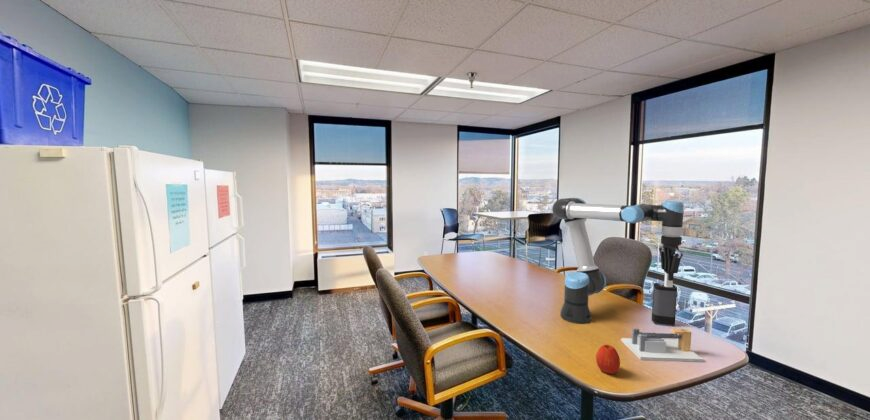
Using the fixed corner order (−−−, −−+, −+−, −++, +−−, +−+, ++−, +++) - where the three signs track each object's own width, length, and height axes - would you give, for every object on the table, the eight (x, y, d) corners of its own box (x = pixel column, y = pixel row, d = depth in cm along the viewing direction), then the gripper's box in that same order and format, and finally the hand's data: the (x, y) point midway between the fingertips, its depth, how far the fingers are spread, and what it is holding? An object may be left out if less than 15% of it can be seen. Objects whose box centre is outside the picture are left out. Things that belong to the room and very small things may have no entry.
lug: (673, 350, 137) (675, 331, 136) (669, 347, 140) (670, 328, 139) (690, 351, 136) (691, 332, 135) (685, 347, 139) (686, 328, 138)
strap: (640, 339, 137) (641, 336, 137) (635, 334, 141) (635, 331, 141) (682, 340, 136) (682, 337, 136) (675, 335, 140) (675, 332, 140)
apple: (596, 375, 122) (597, 347, 121) (594, 363, 130) (595, 337, 129) (621, 379, 119) (622, 351, 118) (617, 367, 127) (618, 341, 126)
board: (640, 359, 132) (641, 341, 131) (621, 340, 148) (621, 323, 147) (702, 362, 130) (704, 343, 130) (676, 342, 146) (677, 325, 145)
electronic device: (671, 322, 167) (674, 284, 165) (675, 327, 161) (678, 287, 159) (650, 319, 170) (652, 282, 168) (654, 324, 164) (656, 286, 162)
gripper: (690, 238, 139) (686, 291, 141) (670, 233, 152) (667, 282, 154) (672, 238, 140) (668, 291, 142) (654, 233, 153) (651, 282, 155)
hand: (668, 286), depth 148 cm, fingers closed
